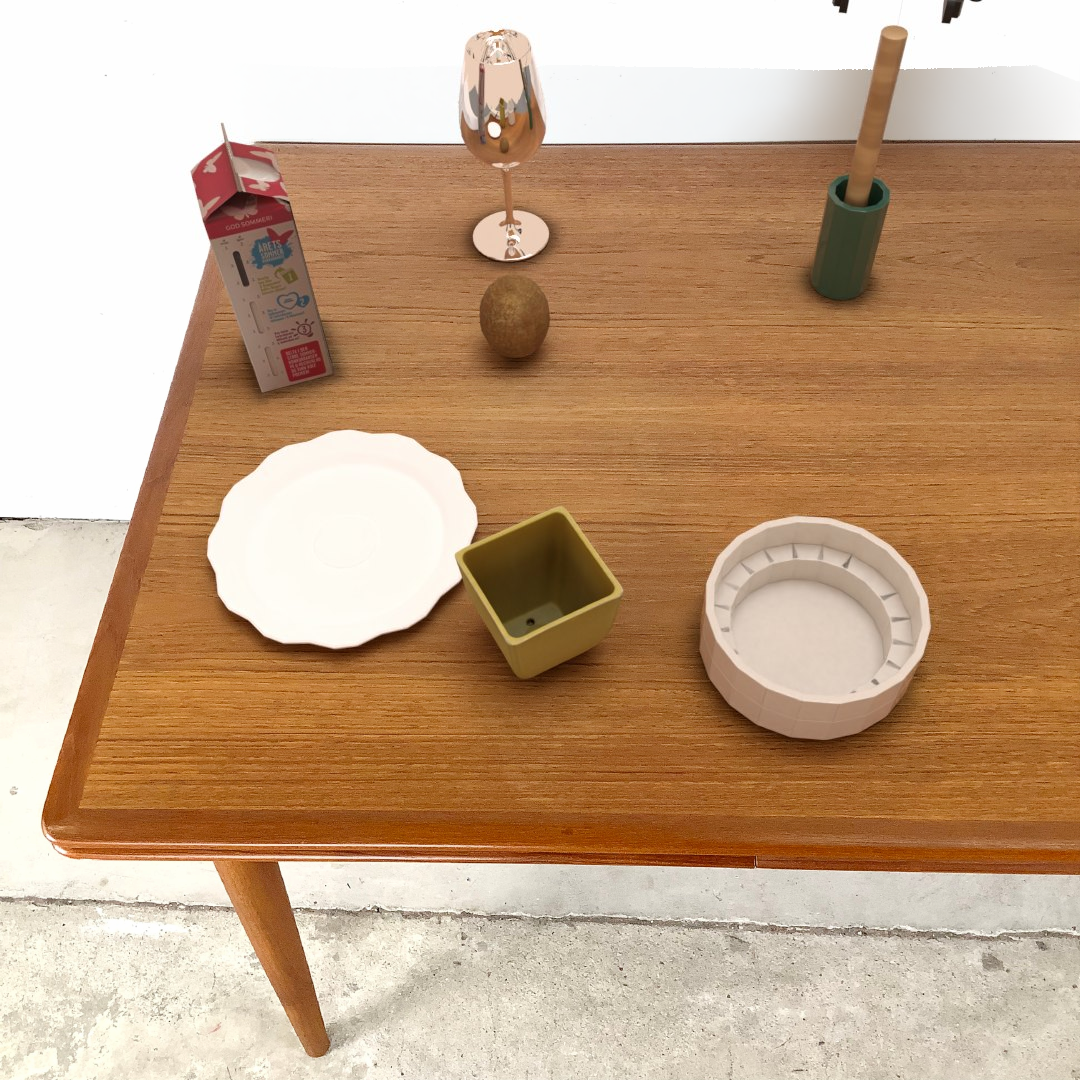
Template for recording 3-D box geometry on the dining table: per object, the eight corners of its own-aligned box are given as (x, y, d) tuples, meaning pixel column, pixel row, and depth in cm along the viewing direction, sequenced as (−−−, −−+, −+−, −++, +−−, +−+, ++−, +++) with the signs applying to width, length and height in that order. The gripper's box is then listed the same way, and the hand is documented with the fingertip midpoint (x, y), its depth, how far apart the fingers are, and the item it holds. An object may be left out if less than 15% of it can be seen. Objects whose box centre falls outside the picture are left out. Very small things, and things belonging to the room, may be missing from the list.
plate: (179, 641, 85) (172, 630, 83) (257, 433, 97) (253, 420, 95) (450, 671, 82) (448, 659, 81) (496, 454, 94) (495, 441, 93)
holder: (830, 255, 107) (850, 165, 99) (877, 278, 105) (901, 189, 97) (799, 283, 105) (816, 194, 97) (846, 308, 103) (868, 219, 95)
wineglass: (543, 267, 108) (535, 75, 91) (463, 259, 109) (441, 68, 92) (556, 215, 112) (551, 23, 96) (480, 208, 113) (462, 18, 97)
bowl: (777, 530, 89) (788, 482, 84) (949, 639, 82) (972, 594, 77) (657, 657, 82) (661, 613, 77) (833, 785, 76) (849, 747, 71)
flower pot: (565, 572, 87) (563, 501, 80) (623, 658, 82) (626, 591, 75) (463, 620, 85) (451, 552, 77) (517, 711, 80) (509, 647, 73)
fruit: (541, 319, 104) (538, 250, 97) (559, 366, 100) (557, 298, 93) (475, 333, 103) (467, 265, 96) (491, 381, 99) (484, 313, 93)
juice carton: (319, 324, 104) (263, 113, 86) (334, 373, 100) (279, 163, 83) (248, 342, 103) (177, 132, 85) (261, 392, 99) (189, 183, 82)
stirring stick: (829, 265, 106) (882, 21, 86) (850, 268, 105) (909, 24, 86) (825, 283, 104) (879, 39, 85) (847, 287, 104) (906, 42, 84)
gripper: (838, -135, 101) (817, -45, 92) (1002, -122, 99) (997, -29, 90) (824, -51, 107) (803, 41, 98) (978, -37, 105) (972, 58, 96)
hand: (896, 7), depth 94 cm, fingers open, 8 cm apart
